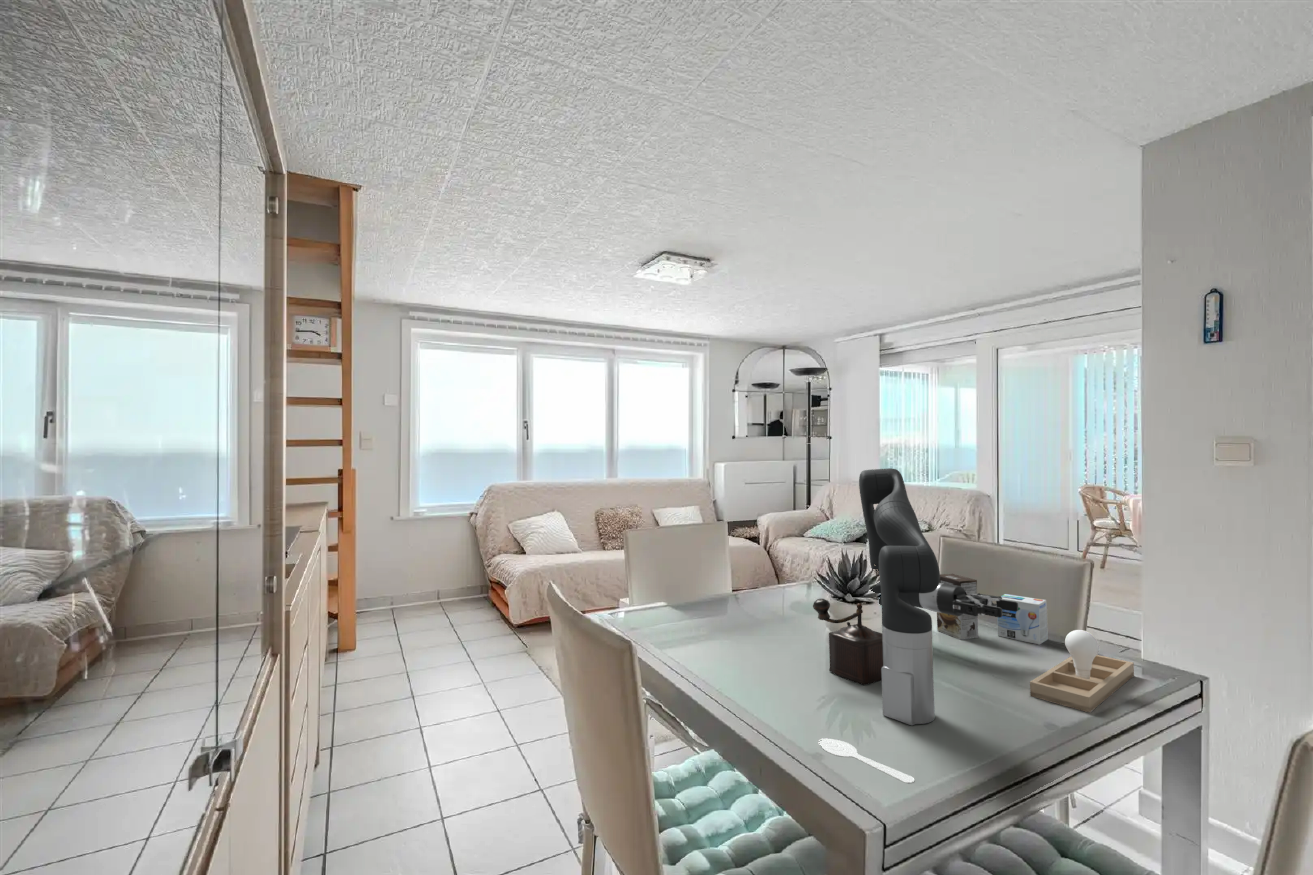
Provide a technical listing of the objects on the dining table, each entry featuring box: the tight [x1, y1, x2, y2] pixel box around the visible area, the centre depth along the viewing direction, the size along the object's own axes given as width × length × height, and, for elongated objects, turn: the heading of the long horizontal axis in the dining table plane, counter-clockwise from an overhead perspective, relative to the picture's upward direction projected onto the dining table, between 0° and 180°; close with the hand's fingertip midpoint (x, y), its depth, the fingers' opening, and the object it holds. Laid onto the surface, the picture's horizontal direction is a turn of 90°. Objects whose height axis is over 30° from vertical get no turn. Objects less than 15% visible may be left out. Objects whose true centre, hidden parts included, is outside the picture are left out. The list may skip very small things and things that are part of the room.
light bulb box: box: [996, 593, 1049, 645], centre depth 163 cm, size 11×7×11 cm, turn 41°
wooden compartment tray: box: [1029, 654, 1135, 713], centre depth 130 cm, size 30×10×3 cm, turn 128°
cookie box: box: [936, 573, 979, 641], centre depth 168 cm, size 9×6×16 cm
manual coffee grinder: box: [812, 598, 883, 686], centre depth 138 cm, size 16×11×18 cm
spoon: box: [817, 737, 915, 784], centre depth 101 cm, size 5×18×1 cm, turn 37°
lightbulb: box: [1064, 629, 1100, 679], centre depth 130 cm, size 6×6×11 cm
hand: (1009, 609), depth 141 cm, fingers open, 8 cm apart
